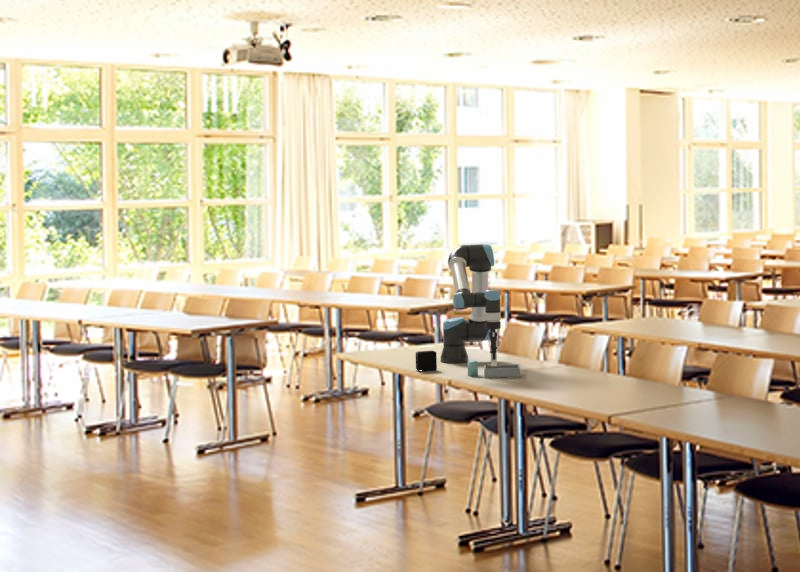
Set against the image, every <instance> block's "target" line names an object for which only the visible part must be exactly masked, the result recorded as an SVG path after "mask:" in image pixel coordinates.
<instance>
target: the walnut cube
mask: <svg viewBox="0 0 800 572" xmlns="http://www.w3.org/2000/svg"><path fill="white" fill-rule="evenodd" d="M488 365H489V369H498V368H499V365H500V364H499V363H497V366H491V363H488Z"/></svg>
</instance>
